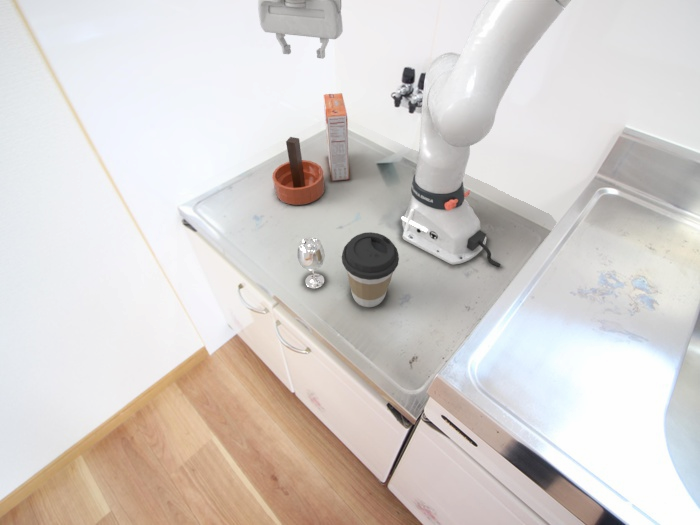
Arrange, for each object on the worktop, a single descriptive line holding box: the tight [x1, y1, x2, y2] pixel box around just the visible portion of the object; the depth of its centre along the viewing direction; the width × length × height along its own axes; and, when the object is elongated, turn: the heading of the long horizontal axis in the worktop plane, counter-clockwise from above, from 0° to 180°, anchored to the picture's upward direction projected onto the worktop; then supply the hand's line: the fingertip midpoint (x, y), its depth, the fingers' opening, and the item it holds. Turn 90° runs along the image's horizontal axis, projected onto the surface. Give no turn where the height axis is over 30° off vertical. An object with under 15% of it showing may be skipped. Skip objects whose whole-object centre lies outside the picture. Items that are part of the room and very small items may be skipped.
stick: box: [285, 136, 305, 188], centre depth 96 cm, size 3×3×16 cm
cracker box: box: [323, 93, 350, 182], centre depth 103 cm, size 14×6×21 cm, turn 6°
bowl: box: [271, 159, 325, 206], centre depth 101 cm, size 15×15×6 cm
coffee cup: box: [341, 232, 400, 308], centre depth 71 cm, size 11×11×15 cm
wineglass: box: [297, 236, 326, 290], centre depth 75 cm, size 6×6×12 cm
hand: (303, 55), depth 85 cm, fingers open, 8 cm apart
